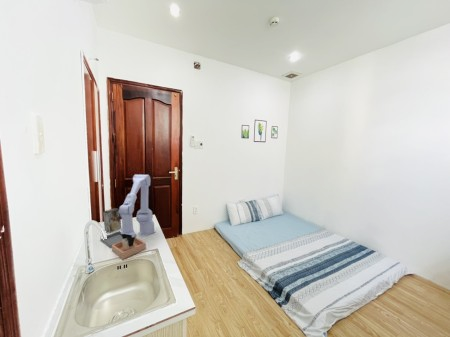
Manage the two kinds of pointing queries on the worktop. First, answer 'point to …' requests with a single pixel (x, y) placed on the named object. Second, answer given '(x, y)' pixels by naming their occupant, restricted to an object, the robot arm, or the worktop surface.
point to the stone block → (126, 244)
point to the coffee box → (112, 220)
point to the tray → (112, 239)
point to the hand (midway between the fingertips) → (128, 244)
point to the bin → (127, 253)
